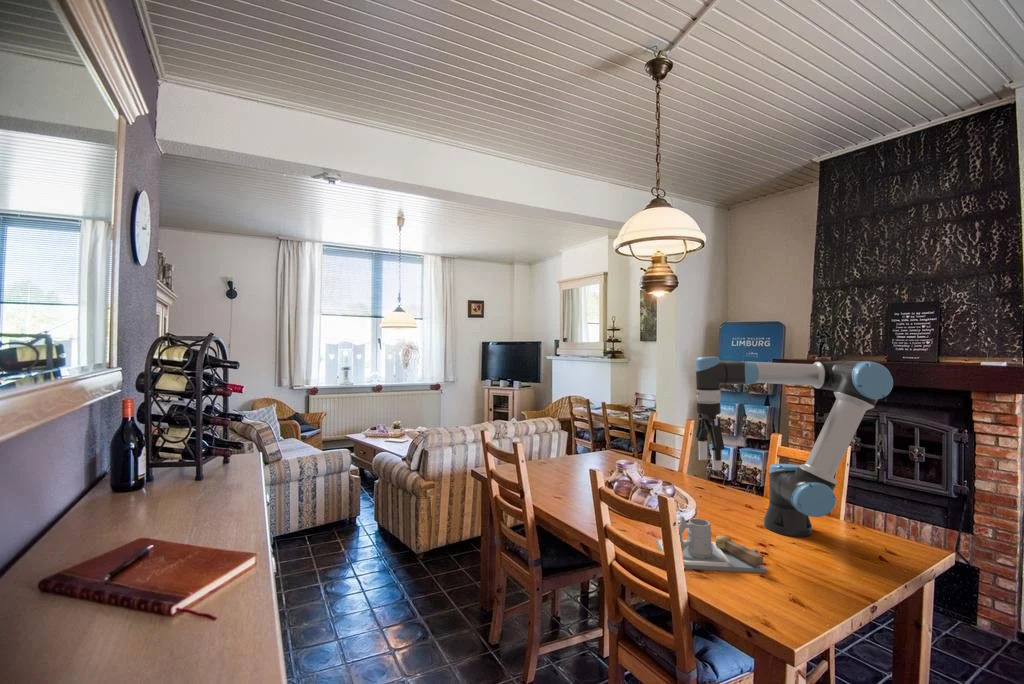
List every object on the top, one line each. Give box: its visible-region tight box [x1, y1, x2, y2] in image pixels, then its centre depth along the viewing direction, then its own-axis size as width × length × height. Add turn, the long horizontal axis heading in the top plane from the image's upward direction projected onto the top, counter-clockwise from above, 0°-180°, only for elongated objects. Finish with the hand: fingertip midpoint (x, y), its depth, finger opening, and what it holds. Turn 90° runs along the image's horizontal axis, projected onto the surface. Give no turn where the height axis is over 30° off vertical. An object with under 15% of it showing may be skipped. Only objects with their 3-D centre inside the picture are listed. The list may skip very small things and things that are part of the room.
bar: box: [715, 535, 764, 566], centre depth 147 cm, size 16×4×2 cm, turn 20°
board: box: [655, 538, 767, 574], centre depth 149 cm, size 28×16×4 cm, turn 84°
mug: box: [677, 515, 713, 559], centre depth 149 cm, size 8×12×12 cm, turn 101°
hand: (709, 464), depth 163 cm, fingers open, 13 cm apart
